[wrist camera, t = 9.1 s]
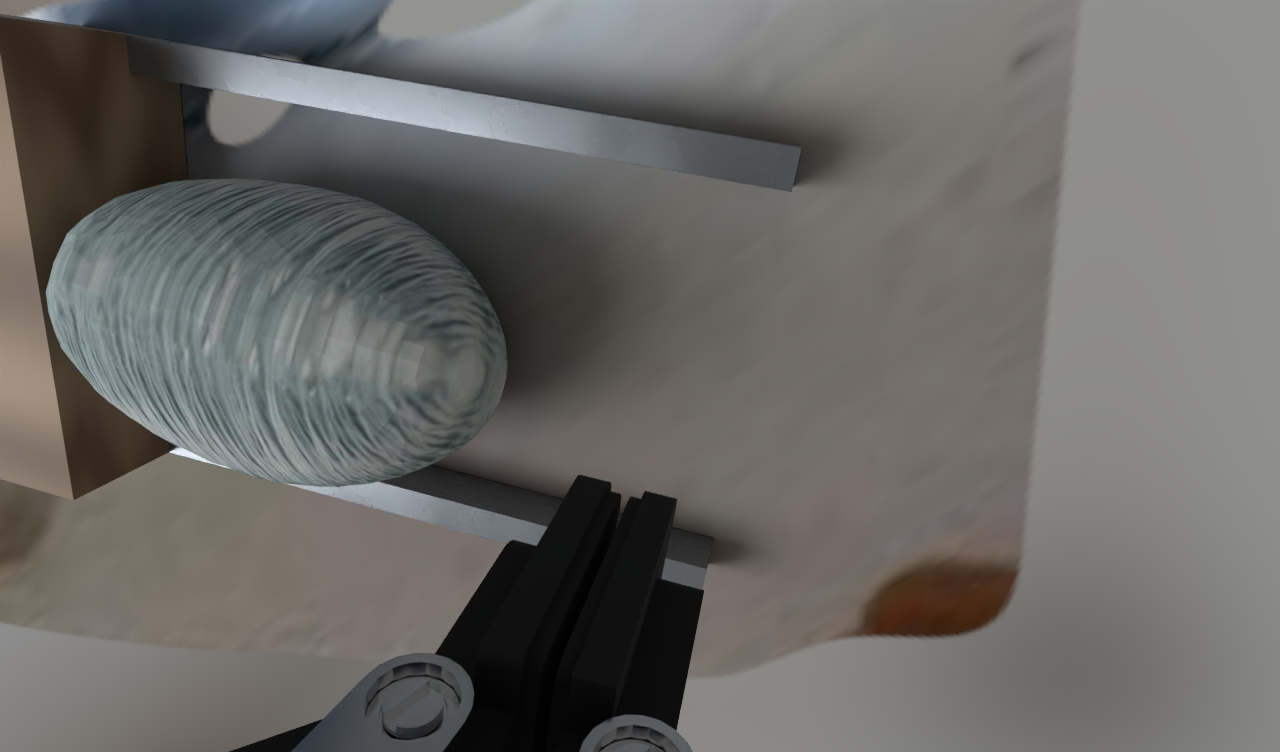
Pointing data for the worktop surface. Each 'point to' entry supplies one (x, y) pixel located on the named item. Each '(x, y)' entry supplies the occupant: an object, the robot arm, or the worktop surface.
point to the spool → (279, 329)
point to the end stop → (38, 223)
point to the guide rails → (495, 117)
